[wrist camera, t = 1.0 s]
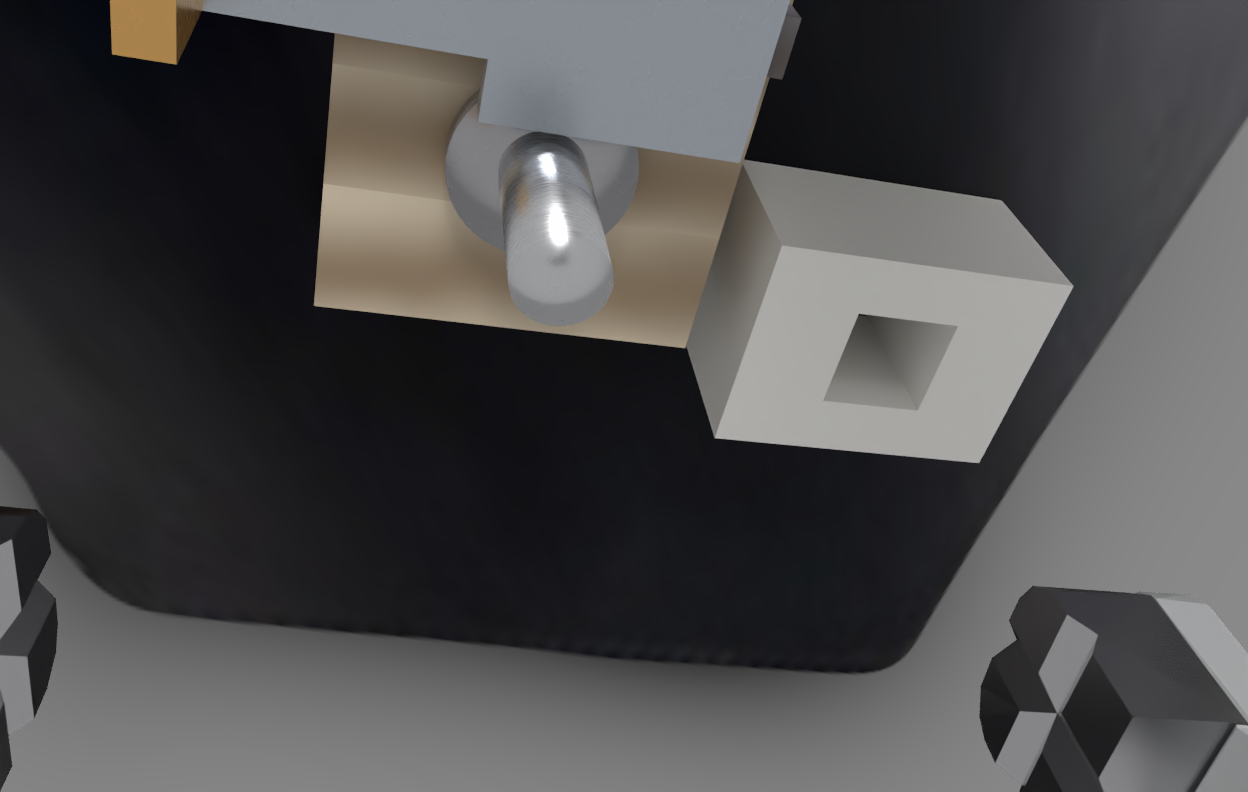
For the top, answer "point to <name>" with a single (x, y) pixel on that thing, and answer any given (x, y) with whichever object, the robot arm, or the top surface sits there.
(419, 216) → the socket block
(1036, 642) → the robot arm
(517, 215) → the peg
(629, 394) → the top surface
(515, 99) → the keeper plate
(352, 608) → the top surface
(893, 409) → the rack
